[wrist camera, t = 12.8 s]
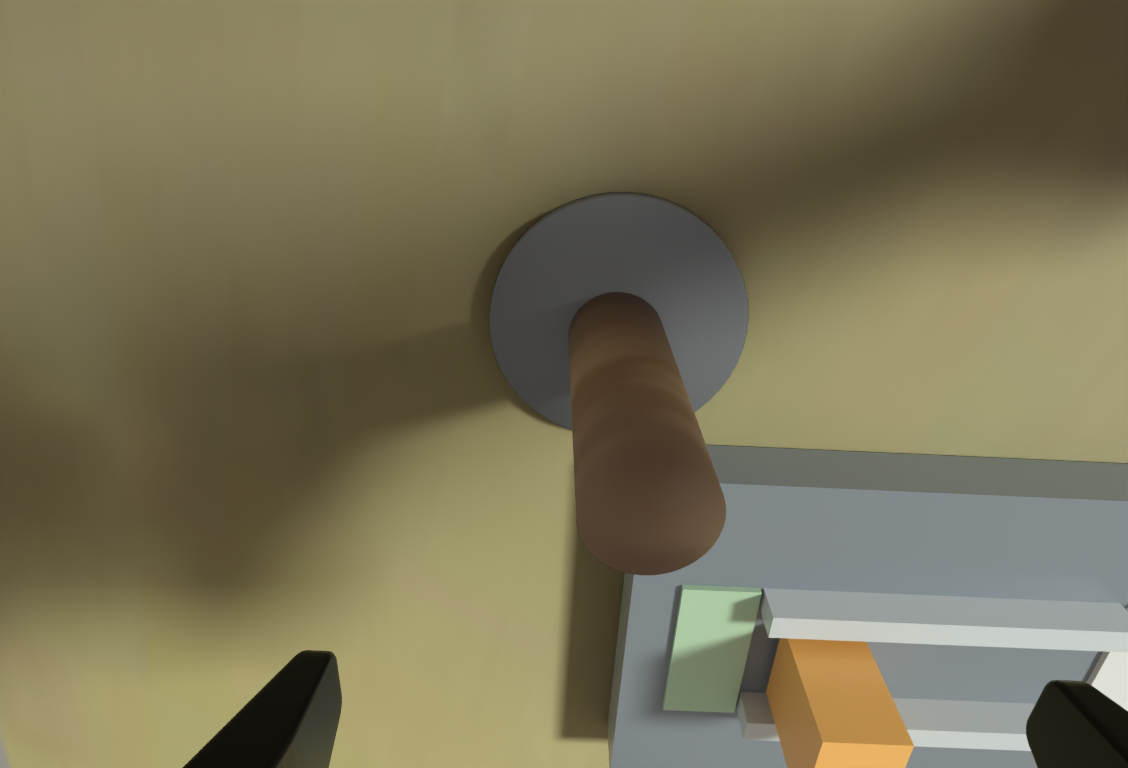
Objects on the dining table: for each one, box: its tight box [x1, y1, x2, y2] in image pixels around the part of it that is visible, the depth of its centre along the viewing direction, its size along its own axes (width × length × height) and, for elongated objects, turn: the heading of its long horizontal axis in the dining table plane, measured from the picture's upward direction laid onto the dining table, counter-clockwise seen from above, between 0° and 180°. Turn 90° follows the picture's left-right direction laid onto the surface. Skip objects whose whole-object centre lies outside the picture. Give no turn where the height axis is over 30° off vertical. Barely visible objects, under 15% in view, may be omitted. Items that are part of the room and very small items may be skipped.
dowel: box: [568, 292, 726, 576], centre depth 16 cm, size 3×3×8 cm
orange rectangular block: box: [766, 638, 914, 768], centre depth 21 cm, size 2×3×4 cm
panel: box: [607, 445, 1128, 768], centre depth 24 cm, size 19×13×3 cm
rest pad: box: [489, 192, 749, 430], centre depth 20 cm, size 7×7×1 cm
